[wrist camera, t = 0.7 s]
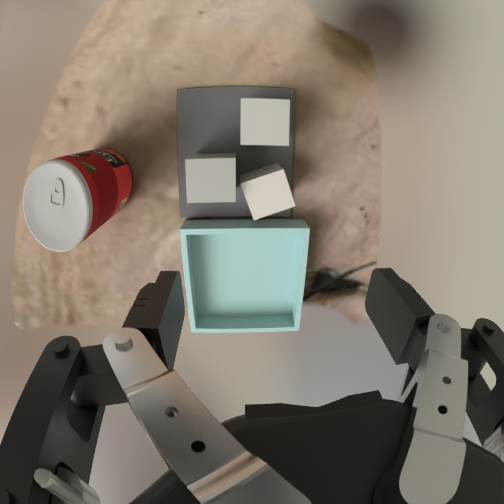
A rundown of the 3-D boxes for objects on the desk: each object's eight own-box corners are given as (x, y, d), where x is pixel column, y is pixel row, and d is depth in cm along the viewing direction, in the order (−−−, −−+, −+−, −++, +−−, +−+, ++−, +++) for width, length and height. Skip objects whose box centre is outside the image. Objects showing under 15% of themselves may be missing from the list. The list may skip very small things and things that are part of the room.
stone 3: (239, 175, 29) (240, 183, 25) (276, 162, 29) (283, 169, 24) (251, 206, 31) (253, 220, 26) (286, 194, 30) (295, 206, 26)
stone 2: (240, 104, 26) (240, 98, 21) (279, 105, 26) (289, 99, 21) (240, 142, 28) (240, 145, 22) (278, 143, 28) (288, 145, 23)
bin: (185, 219, 31) (179, 229, 28) (303, 219, 32) (309, 228, 29) (194, 316, 37) (191, 332, 34) (294, 315, 37) (298, 330, 34)
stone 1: (195, 153, 28) (185, 159, 23) (235, 152, 28) (235, 158, 23) (196, 189, 30) (186, 203, 24) (236, 188, 30) (235, 202, 24)
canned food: (135, 146, 28) (87, 157, 18) (135, 216, 31) (94, 256, 21) (77, 149, 27) (18, 164, 17) (80, 214, 30) (28, 250, 20)
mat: (177, 89, 26) (177, 89, 25) (293, 89, 26) (294, 88, 26) (181, 216, 31) (180, 217, 31) (289, 215, 32) (290, 216, 31)
